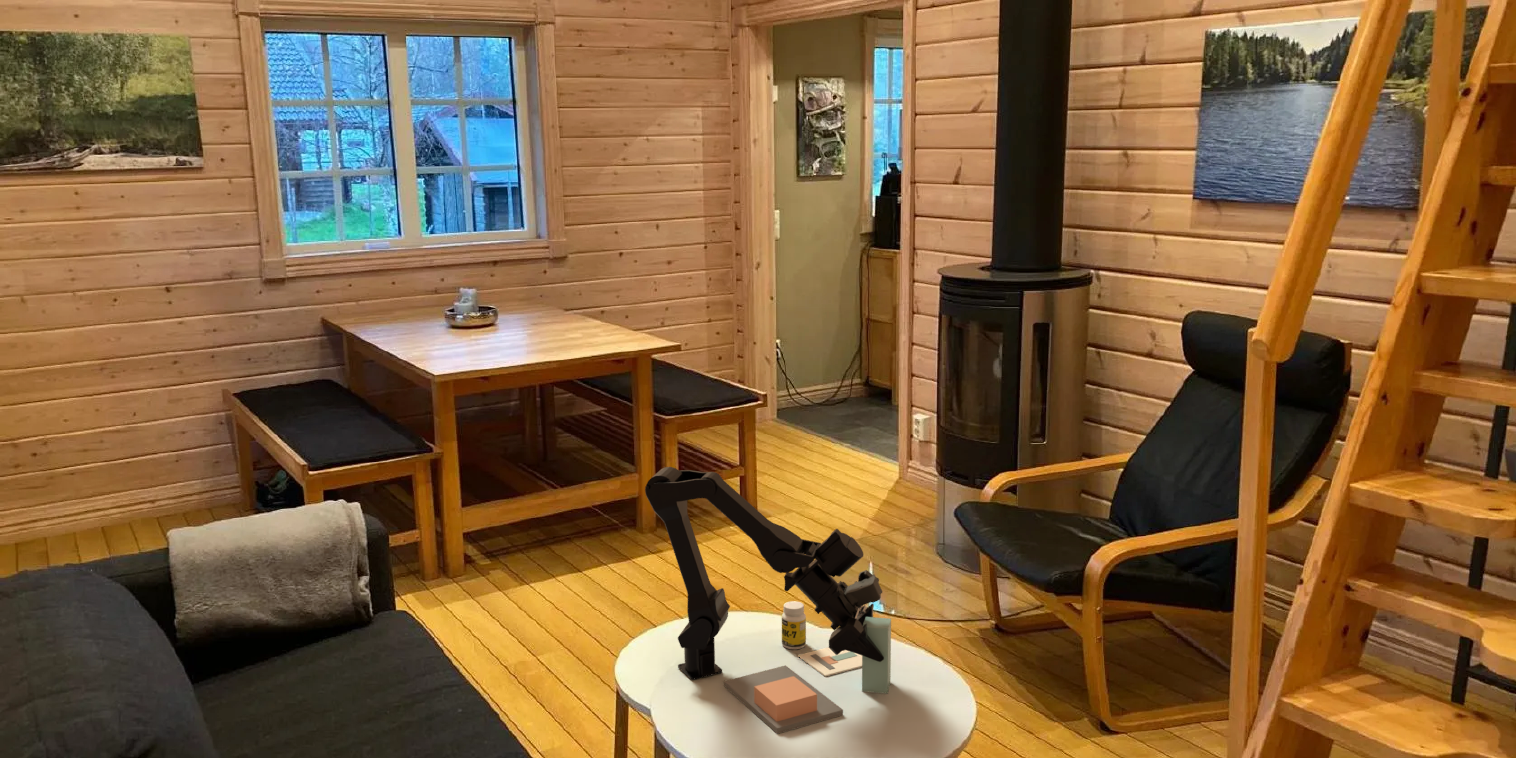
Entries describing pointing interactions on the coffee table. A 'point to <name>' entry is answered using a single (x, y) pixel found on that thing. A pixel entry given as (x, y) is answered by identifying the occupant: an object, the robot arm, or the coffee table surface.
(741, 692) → the baseplate
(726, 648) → the coffee table surface
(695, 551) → the robot arm
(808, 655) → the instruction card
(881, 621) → the tall brick
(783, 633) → the supplement bottle
